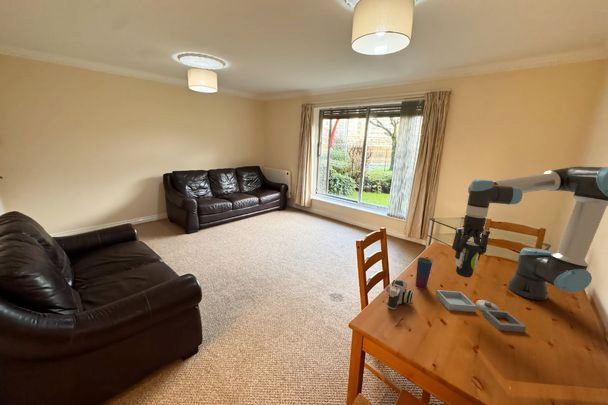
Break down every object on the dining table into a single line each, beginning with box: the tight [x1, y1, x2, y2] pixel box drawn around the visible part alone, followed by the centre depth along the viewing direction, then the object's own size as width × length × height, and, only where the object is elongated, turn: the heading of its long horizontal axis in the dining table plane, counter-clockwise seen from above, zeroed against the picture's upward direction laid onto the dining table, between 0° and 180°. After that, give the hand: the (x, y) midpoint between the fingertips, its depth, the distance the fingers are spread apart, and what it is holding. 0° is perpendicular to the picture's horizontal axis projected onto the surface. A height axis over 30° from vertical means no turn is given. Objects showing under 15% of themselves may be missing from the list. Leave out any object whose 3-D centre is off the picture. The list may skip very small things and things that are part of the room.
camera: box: [387, 278, 413, 310], centre depth 112 cm, size 16×9×10 cm, turn 146°
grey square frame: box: [475, 299, 527, 333], centre depth 106 cm, size 10×18×3 cm, turn 178°
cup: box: [415, 256, 433, 290], centre depth 126 cm, size 7×7×15 cm
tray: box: [435, 289, 477, 313], centre depth 114 cm, size 12×12×3 cm
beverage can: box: [455, 240, 479, 278], centre depth 109 cm, size 6×6×15 cm
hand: (465, 266), depth 110 cm, fingers closed on beverage can, 6 cm apart
